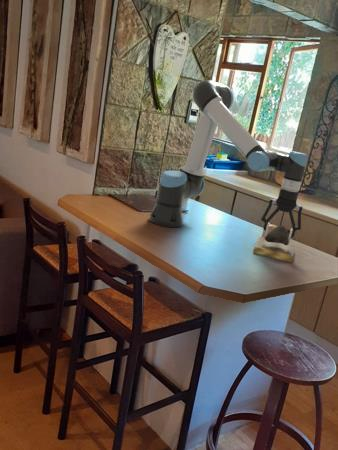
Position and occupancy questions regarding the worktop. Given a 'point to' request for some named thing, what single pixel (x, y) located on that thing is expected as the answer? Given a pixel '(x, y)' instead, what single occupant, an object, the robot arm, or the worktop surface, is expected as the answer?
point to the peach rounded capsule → (269, 229)
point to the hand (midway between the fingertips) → (276, 240)
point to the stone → (278, 235)
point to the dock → (274, 249)
